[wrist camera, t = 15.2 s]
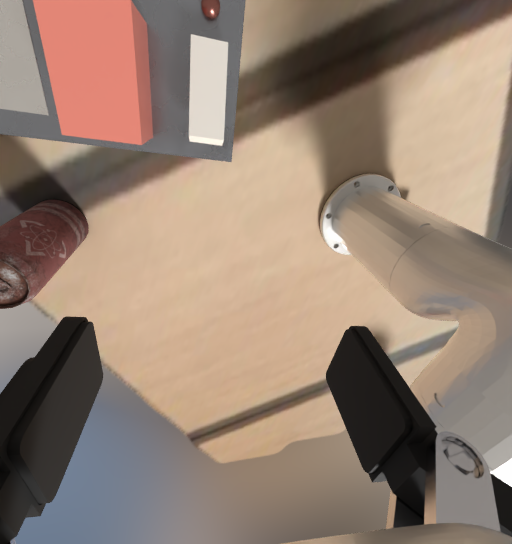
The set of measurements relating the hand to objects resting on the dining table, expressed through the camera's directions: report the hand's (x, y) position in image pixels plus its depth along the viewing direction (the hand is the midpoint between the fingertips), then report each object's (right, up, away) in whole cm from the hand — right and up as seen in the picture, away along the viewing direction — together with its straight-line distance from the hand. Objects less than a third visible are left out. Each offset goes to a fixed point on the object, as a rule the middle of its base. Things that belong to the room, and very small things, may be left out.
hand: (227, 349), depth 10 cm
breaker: (-3, +20, +14) cm, 24 cm away
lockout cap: (-12, +21, +15) cm, 28 cm away
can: (-24, +10, +23) cm, 35 cm away
